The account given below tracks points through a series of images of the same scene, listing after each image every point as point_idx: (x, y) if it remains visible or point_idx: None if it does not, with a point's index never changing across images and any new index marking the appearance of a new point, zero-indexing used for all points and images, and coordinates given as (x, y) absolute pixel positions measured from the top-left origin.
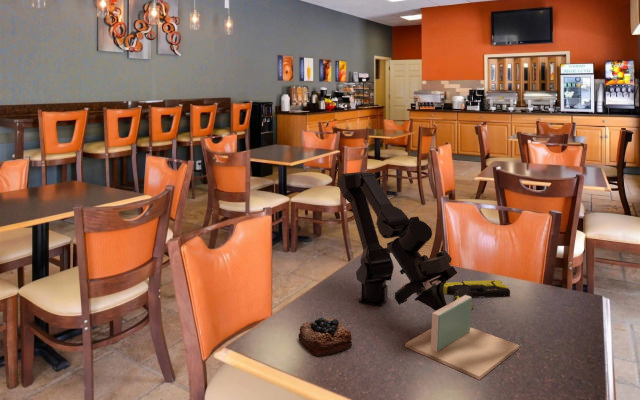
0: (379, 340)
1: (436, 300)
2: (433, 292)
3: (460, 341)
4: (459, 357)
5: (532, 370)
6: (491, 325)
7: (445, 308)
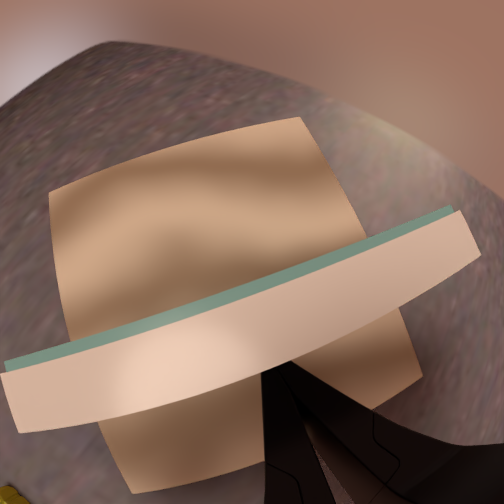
0: (454, 432)
1: (398, 425)
2: (467, 459)
3: None
4: (295, 211)
5: (130, 106)
6: None
7: (380, 279)
